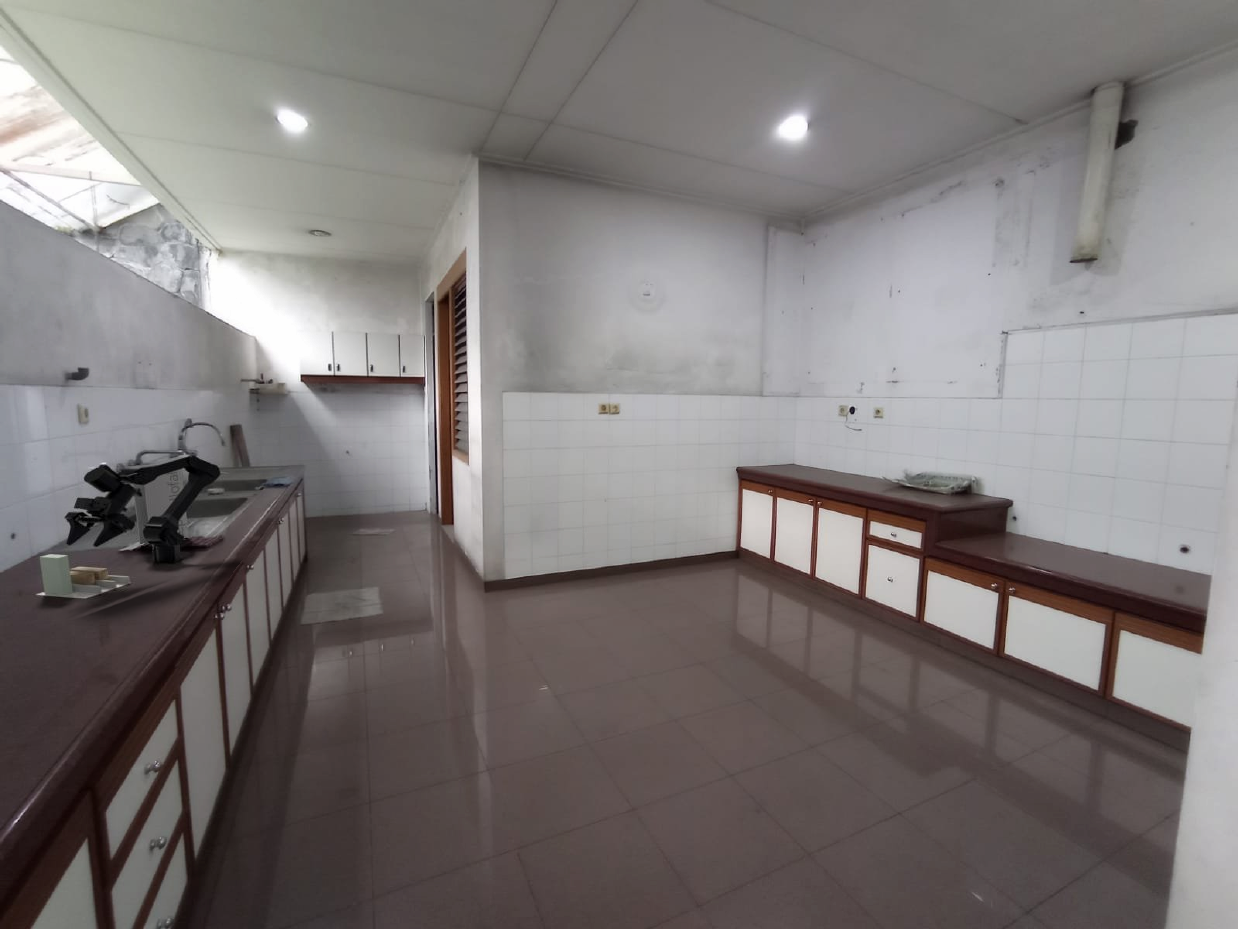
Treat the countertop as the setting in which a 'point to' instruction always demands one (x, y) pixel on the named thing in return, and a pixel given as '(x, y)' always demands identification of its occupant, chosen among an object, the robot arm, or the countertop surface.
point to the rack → (95, 587)
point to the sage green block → (56, 574)
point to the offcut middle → (82, 578)
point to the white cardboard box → (159, 501)
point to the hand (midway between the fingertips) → (81, 545)
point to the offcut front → (98, 572)
